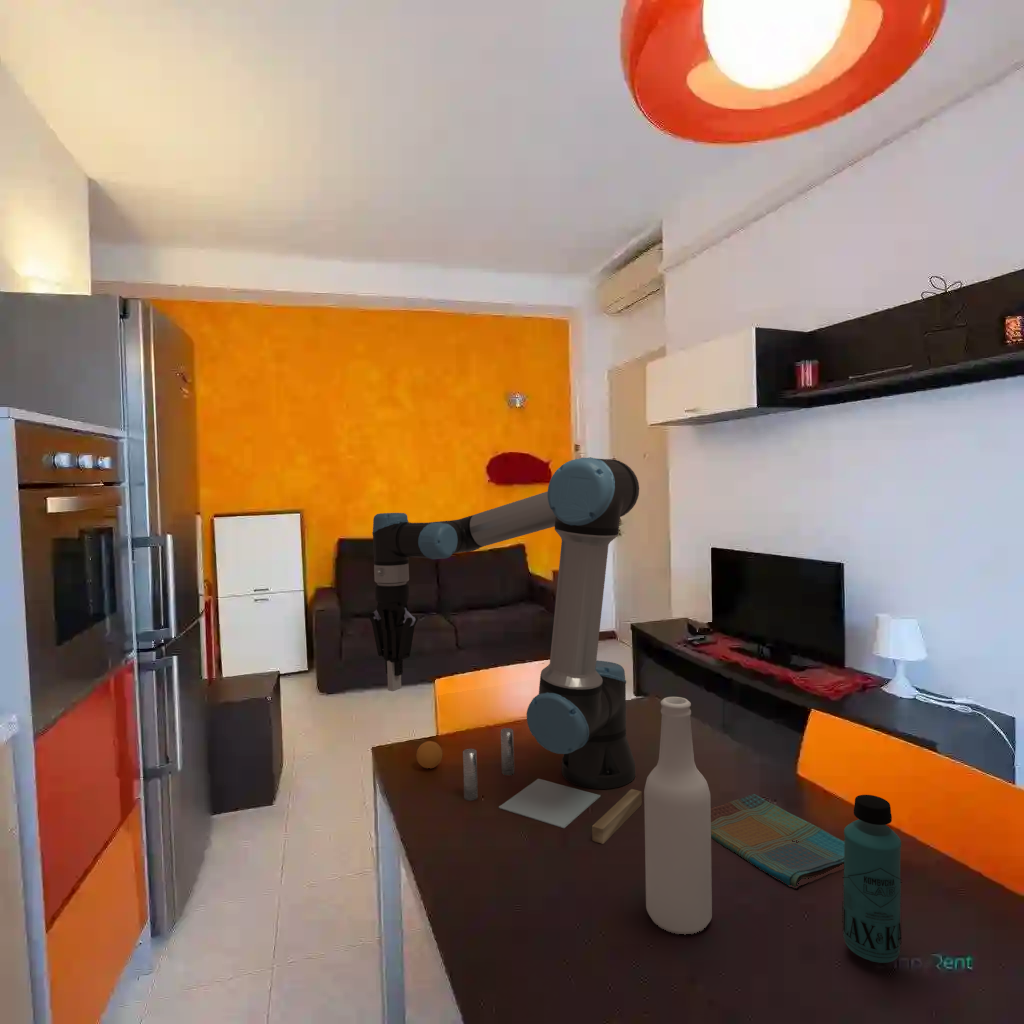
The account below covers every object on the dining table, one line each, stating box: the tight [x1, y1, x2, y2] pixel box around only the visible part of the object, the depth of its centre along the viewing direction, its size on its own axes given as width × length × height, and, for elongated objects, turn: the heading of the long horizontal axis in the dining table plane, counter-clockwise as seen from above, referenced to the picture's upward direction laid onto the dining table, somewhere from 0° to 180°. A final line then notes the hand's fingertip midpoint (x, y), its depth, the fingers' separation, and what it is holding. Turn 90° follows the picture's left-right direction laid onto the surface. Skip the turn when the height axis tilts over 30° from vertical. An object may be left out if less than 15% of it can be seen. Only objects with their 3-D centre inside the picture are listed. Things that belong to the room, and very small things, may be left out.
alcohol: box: [643, 696, 713, 936], centre depth 91 cm, size 9×9×30 cm
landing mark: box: [498, 778, 601, 829], centre depth 125 cm, size 14×14×1 cm
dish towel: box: [711, 793, 845, 887], centre depth 110 cm, size 17×23×2 cm
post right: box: [500, 728, 515, 776], centre depth 138 cm, size 3×3×9 cm
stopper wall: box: [591, 788, 643, 845], centre depth 117 cm, size 2×16×2 cm, turn 146°
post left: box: [462, 748, 479, 801], centre depth 128 cm, size 3×3×9 cm
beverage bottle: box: [841, 794, 903, 964], centre depth 82 cm, size 6×7×20 cm
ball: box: [415, 740, 443, 769], centre depth 142 cm, size 6×6×6 cm
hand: (394, 689), depth 147 cm, fingers closed
